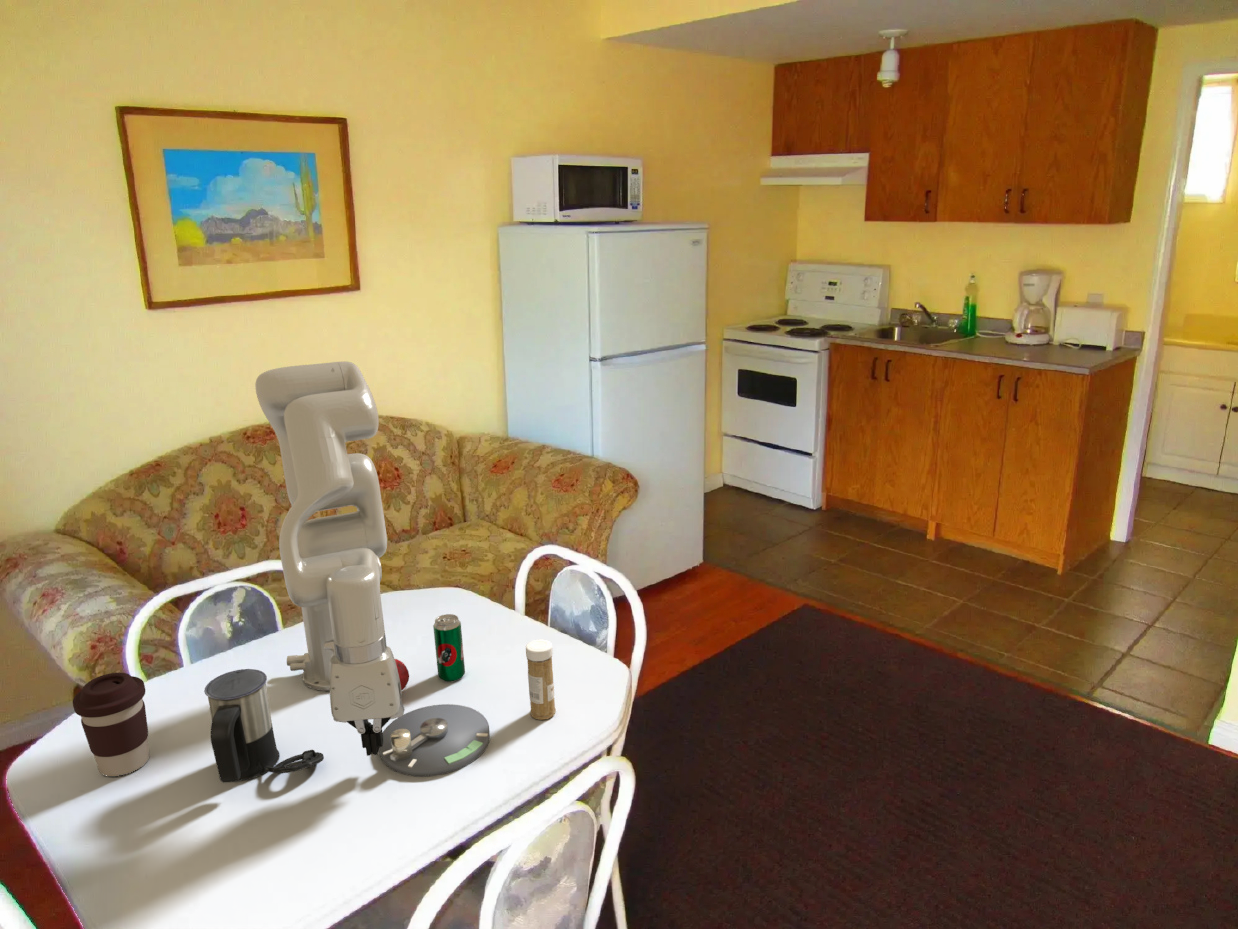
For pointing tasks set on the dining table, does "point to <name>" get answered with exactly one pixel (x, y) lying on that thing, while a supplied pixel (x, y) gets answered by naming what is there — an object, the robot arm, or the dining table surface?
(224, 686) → the milk frother
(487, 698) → the dining table surface
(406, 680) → the onion
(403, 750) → the needle
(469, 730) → the dial
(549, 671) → the spice jar
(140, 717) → the coffee cup
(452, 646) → the soda can
